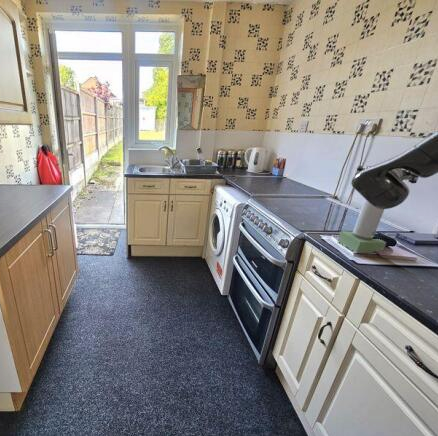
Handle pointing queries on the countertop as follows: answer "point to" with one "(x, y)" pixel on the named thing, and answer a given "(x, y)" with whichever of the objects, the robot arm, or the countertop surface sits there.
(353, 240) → the riser block
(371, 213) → the travel mug
